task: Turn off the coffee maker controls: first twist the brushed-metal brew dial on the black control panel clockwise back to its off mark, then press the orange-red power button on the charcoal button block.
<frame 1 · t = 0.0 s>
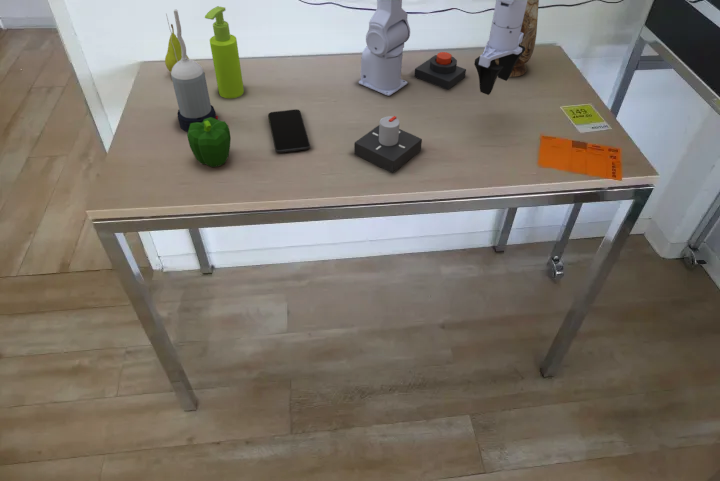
hand: (494, 85, 118), 10 cm above the table, tool pointing down, fingers open, 7 cm apart
fruit: (180, 75, 140), on the table
brew dial: (389, 130, 114), point 5 cm above the table, hinge at 90.0°
power button: (443, 58, 138), point 4 cm above the table, slide at 0.1 cm
smartphone: (288, 132, 123), on the table
button block: (439, 76, 141), on the table
vase: (507, 69, 145), on the table
humidifier: (198, 123, 125), on the table
soap dispenser: (230, 93, 134), on the table
bell pepper: (213, 160, 115), on the table
dial panel: (387, 152, 118), on the table
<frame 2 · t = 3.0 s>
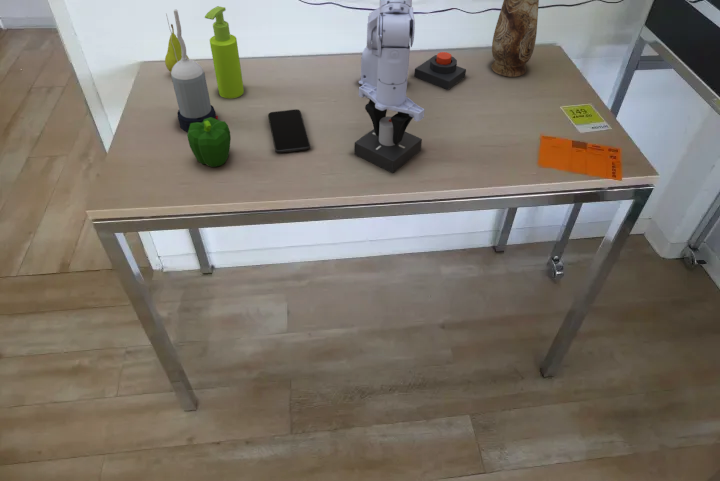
hand: (388, 137, 115), 4 cm above the table, tool pointing down, fingers closed on brew dial, 4 cm apart
brew dial: (389, 130, 114), point 5 cm above the table, hinge at 89.8°, touching gripper
everything else where it was.
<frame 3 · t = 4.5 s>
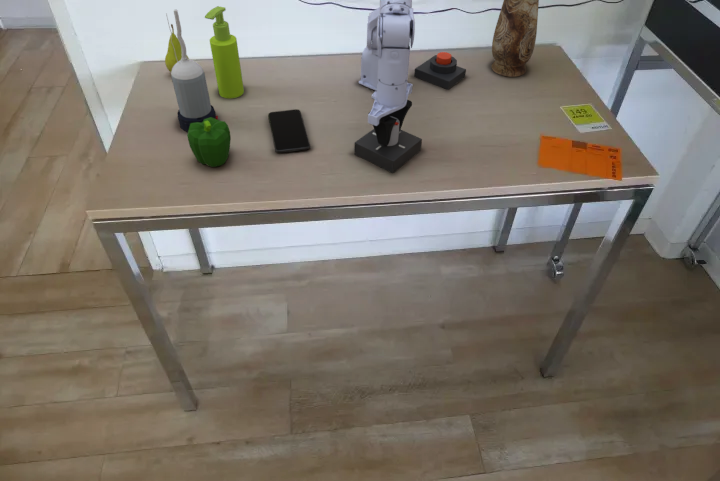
hand: (388, 138, 115), 4 cm above the table, tool pointing down, fingers closed on brew dial, 4 cm apart
brew dial: (389, 130, 114), point 5 cm above the table, hinge at 6.1°, touching gripper
everything else where it was.
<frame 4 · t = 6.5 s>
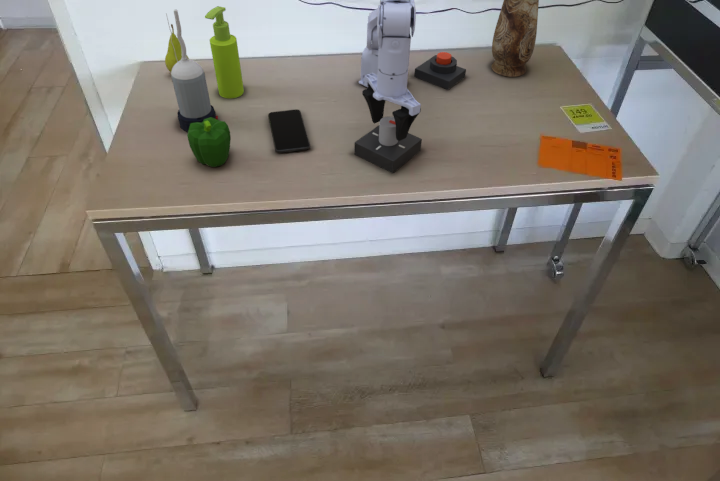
hand: (389, 129, 114), 6 cm above the table, tool pointing down, fingers open, 7 cm apart
brew dial: (389, 130, 114), point 5 cm above the table, hinge at 6.2°
everything else where it was.
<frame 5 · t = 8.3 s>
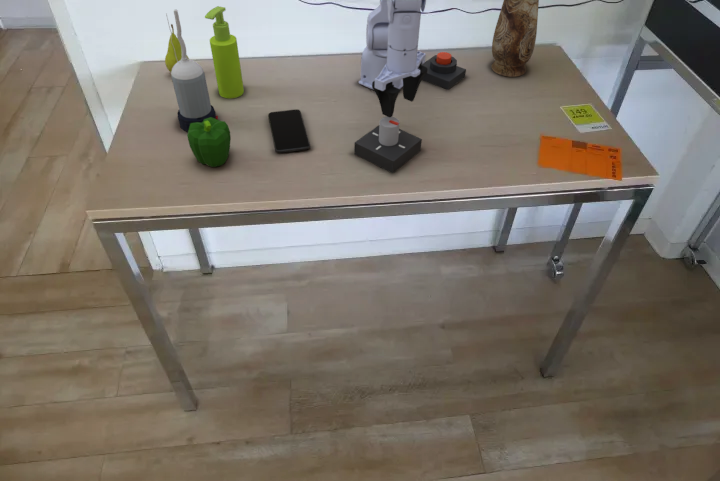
hand: (398, 107, 115), 8 cm above the table, tool pointing down, fingers open, 7 cm apart
nothing on the table moved.
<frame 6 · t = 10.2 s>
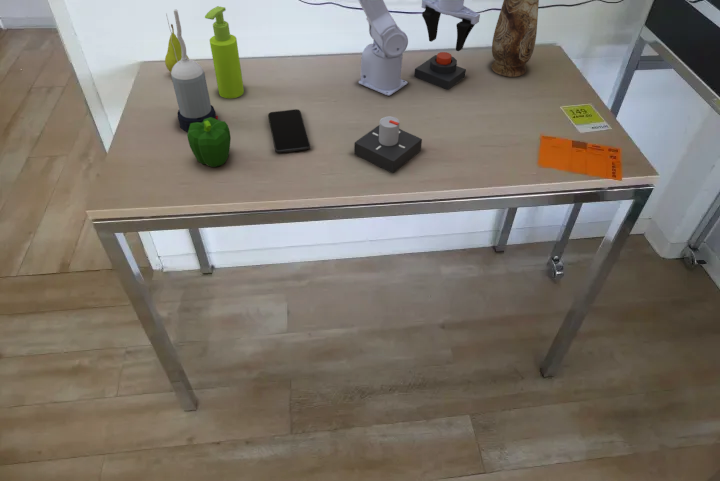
hand: (445, 44, 135), 8 cm above the table, tool pointing down, fingers open, 7 cm apart
nothing on the table moved.
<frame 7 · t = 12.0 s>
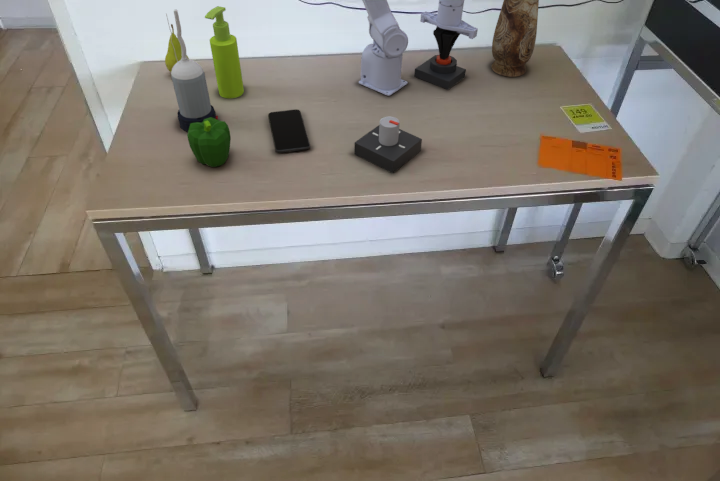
hand: (444, 57, 138), 5 cm above the table, tool pointing down, fingers closed, pressing on power button
power button: (443, 60, 139), point 4 cm above the table, slide at -0.5 cm, touching gripper
everything else where it was.
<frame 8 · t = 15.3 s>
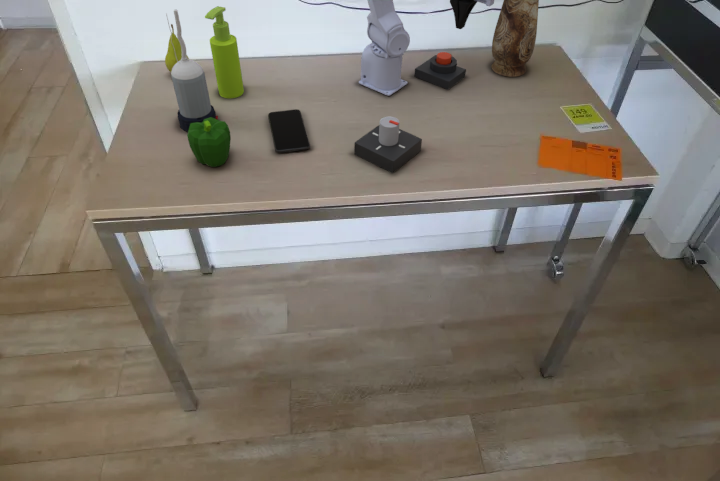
hand: (460, 27, 137), 10 cm above the table, tool pointing down, fingers closed
power button: (443, 58, 138), point 4 cm above the table, slide at 0.1 cm
everything else where it was.
at the end: brew dial at +6° (first picture: +90°); power button pushed in 1.2 cm at the most during the clip, back to where it started at the end; power button slide at 0.1 cm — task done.
